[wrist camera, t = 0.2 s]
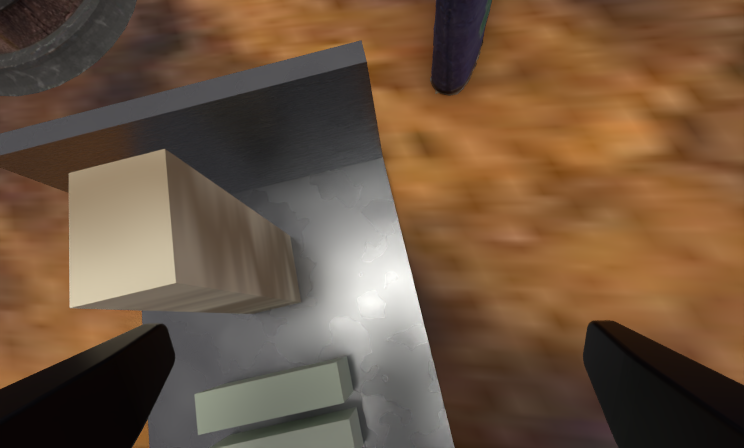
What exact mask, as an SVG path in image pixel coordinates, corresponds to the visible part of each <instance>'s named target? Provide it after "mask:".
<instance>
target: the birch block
mask: <svg viewBox="0 0 744 448" xmlns="http://www.w3.org/2000/svg"><path fill="white" fill-rule="evenodd" d="M69 275H70V308H82V309H113V310H143V311H174V312H205V313H235V314H253V313H257V312H262V311H266V310H270V309H275V308H279V307H283V306H287V305H292V304H296V303H300V302H301V298H300V292H299V286H298V280H297V274H296V268H295V262H294V256H293V250H292V244H291V239H290V235H288V234H287V233H285V232H284V231H282V230H281V229H280V228H278V227H277V226H275V225H274V224H272V223H271V222H269V221H268V220H267V219H265V218H264V217H262V216H261V215H259V214H258V213H257V212H255V211H254V210H252V209H251V208H249V207H248V206H246V205H245V204H244V203H242V202H241V201H239V200H238V199H236V198H235V197H234V196H232V195H231V194H229V193H228V192H226V191H225V190H223V189H222V188H221V187H219V186H218V185H216V184H215V183H213V182H212V181H210V180H209V179H208V178H206V177H205V176H203V175H202V174H200V173H199V172H198V171H196V170H195V169H193V168H192V167H190V166H189V165H187V164H186V163H185V162H183V161H182V160H180V159H179V158H177V157H176V156H175V155H173V154H172V153H170V152H169V151H167V150H166V149H162V150H158V151H154V152H150V153H146V154H142V155H138V156H134V157H131V158H127V159H123V160H119V161H115V162H111V163H107V164H103V165H99V166H95V167H91V168H87V169H83V170H79V171H75V172H71V173H69Z"/></svg>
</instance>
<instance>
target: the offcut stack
mask: <svg viewBox="0 0 744 448" xmlns="http://www.w3.org/2000/svg"><path fill="white" fill-rule="evenodd" d="M352 392H353V386H352V381H351V375H350V370H349V365H348V360H347V356H345V357H341V358H337V359H332V360H328V361H323V362H319V363H314V364H310V365H305V366H301V367H297V368H292V369H288V370H283V371H279V372H274V373H270V374H265V375H261V376H257V377H252V378H248V379H243V380H239V381H234V382H230V383H225V384H222V385H219V386H216V387H213V388H211V389H208V390H205V391H202V392H199V393H196V394H194V395H195V407H196V418H197V429H198V435H201V434H205V433H210V432H214V431H219V430H223V429H228V428H233V427H237V426H242V425H246V424H251V423H255V422H260V421H264V420H269V419H273V418H278V417H283V416H287V415H292V414H296V413H301V412H305V411H310V410H314V409H319V408H323V407H328V406H333V405H337V404H342V403H344V402H345V401H346V400H347V399H348V397H349V396H350V395H351V393H352ZM363 445H364V444H363V438H362V433H361V428H360V423H359V417H358V412H357V407H354V408H350V409H345V410H340V411H336V412H331V413H327V414H322V415H318V416H313V417H309V418H304V419H299V420H295V421H290V422H286V423H281V424H277V425H272V426H268V427H263V428H258V429H254V430H249V431H245V432H240V433H236V434H231V435H229V436H227V437H225V438H224V439H222V440H221V441H219V442H218V443H216V444H215V445H213V446H211V447H210V448H362V447H363Z"/></svg>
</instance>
